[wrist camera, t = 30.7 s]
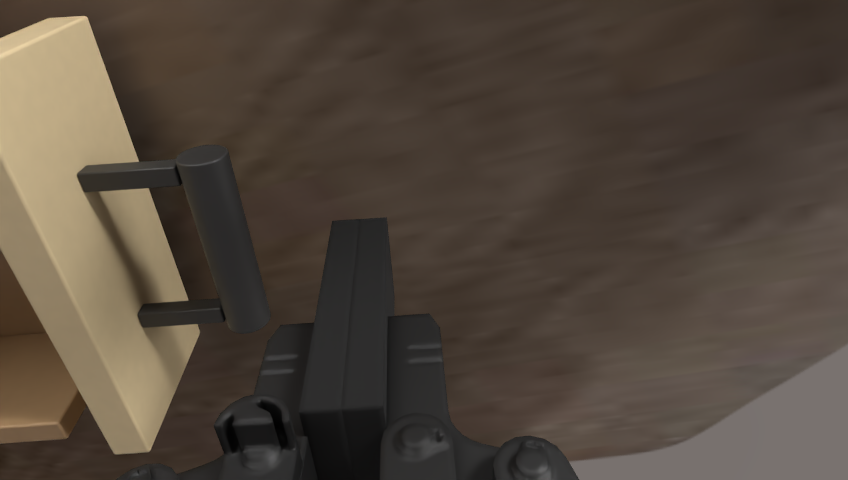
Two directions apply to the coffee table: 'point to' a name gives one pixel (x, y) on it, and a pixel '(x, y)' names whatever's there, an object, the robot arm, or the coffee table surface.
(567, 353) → the coffee table surface
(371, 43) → the coffee table surface
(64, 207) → the drawer
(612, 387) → the coffee table surface
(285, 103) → the coffee table surface
